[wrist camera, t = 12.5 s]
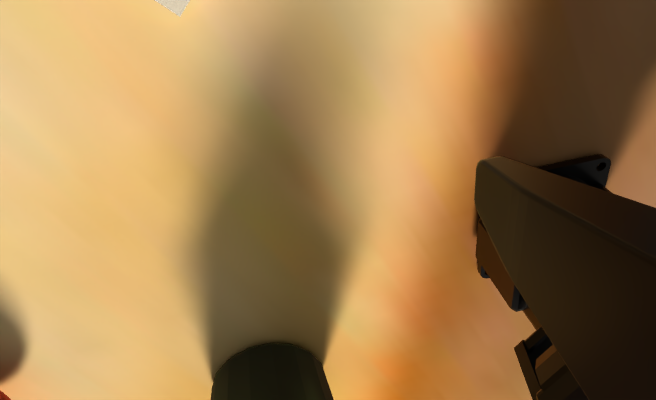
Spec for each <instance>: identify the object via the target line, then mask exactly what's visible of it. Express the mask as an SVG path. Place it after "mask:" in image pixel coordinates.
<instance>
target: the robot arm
mask: <svg viewBox="0 0 656 400" xmlns="http://www.w3.org/2000/svg"><path fill="white" fill-rule="evenodd" d="M599 164H600V165H599ZM610 165H611V161H610V159H608V158H607V157H606V156H604V155H602V154H597V155H592V156H588V157H583V158H578V159H574V160H569V161H564V162H560V163H555V164H550V165H546V166H541V167H533V166H530V165H527V164H524V163H521V162H518V161H515V160H512V159H509V158H506V157H503V156H496V157H492V158H487V159H483V160H480V161H479V162H478V164H477V167H476V180H475V196H474V200H475V206H476V209H477V211H478V214H479V216H480V219H479V221H478V230H477V244H476V258H477V260H478V268H477V269H478V272H479V273H480V275H481V276H482V277H483V278H490V279H491V280H492V282H493V283H494V285H495V286H496V288H497V289H498V291H499V292H500V294H501V295H502V297H503V298H504V300H505V301H506V303H507V304H508V306H509V307H510V308H511V309H512V310H514V311H516V312H517V311H521V310H523V312H524V313H525V315H526V316H527V318H528V319H529V320H530V322H531V323H532V325H533V326H534V328H535V329H536V331H535V332H534V333H533V334H532V335H531V336H529V337H528V338H527V339H526V340H522V341H521V342H520V343H519V344H518V345H517V346H516V347H515V348H514V350H515V352H516V355H517V358H518V361H519V363H520V366H521V369H522V372H523V375H524V377H525V380H526V383H527V385H528V388H529V391H530V394H531V396H532V399H533V400H656V208H654V207H651V206H648V205H645V204H642V203H639V202H636V201H633V200H630V199H627V198H625V197H622V196H619V195H616V194H613V193H611V192H610V191H609V190H608V189H607V188H605V186H606V182H607V178H608V173H609V169H610Z"/></svg>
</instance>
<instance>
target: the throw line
mask: <svg viewBox="0 0 656 400" xmlns="http://www.w3.org/2000/svg"><path fill="white" fill-rule="evenodd" d="M155 1H157V2H158V3H160V4H161V5H163V6H164V7H166V8H167V9H169V10H170V11H172V12H173V13H175V14H176V15H178V16H179V17H180V16H181V14H182V13H183V11H184V9H185V8H186V6H187V4H188V3H189V1H190V0H155Z"/></svg>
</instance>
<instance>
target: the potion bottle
mask: <svg viewBox="0 0 656 400" xmlns="http://www.w3.org/2000/svg"><path fill="white" fill-rule="evenodd" d="M211 400H334V399H333V397H332V394H331V391H330V388H329V385H328V382H327V379H326V376H325V373H324V370H323V367H322V364H321V363H320V362H319V361H318V359H317V358H316V357H315V356H314V355H313V354H312V353H311V352H309V351H307V350H304V349H302V348H299V347H296V346H294V345H291V344H276V343H269V344H265V345H260V346H255V347H251V348H248V349H246V350H245V351H243V352H241V353H239V354H237V355H235V356H233V357H232V358H230V359H229V360H228V361H227V362H226V364H225V365H224V366H223V367H222V368H221V369H220V370H219V371H218V372H217V373H216V375H215V379H214V383H213V386H212V393H211Z"/></svg>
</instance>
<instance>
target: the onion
mask: <svg viewBox="0 0 656 400" xmlns="http://www.w3.org/2000/svg"><path fill="white" fill-rule="evenodd" d="M0 400H11V399H10V398H9V397H8V396H7V395H5V394H4V393H3V392H1V391H0Z"/></svg>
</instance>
